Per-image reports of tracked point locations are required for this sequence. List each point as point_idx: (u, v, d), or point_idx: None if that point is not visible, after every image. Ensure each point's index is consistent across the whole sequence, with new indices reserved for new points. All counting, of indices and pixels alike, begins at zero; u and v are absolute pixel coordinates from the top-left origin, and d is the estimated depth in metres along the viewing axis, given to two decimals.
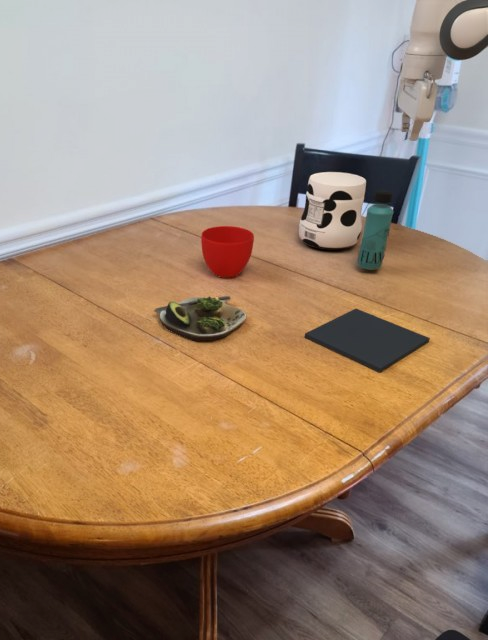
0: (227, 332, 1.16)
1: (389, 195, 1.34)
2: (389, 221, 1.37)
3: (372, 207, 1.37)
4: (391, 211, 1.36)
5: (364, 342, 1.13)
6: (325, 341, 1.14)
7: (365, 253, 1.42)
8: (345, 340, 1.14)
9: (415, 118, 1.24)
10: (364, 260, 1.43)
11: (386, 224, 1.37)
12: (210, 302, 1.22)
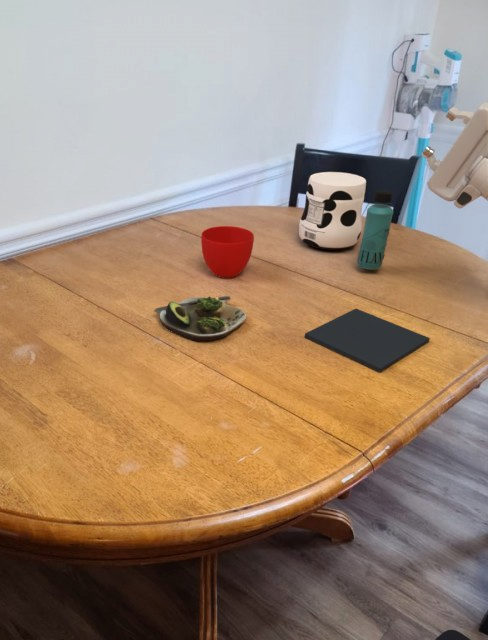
0: (227, 332, 1.16)
1: (389, 195, 1.34)
2: (389, 221, 1.37)
3: (372, 207, 1.37)
4: (391, 211, 1.36)
5: (364, 342, 1.13)
6: (325, 341, 1.14)
7: (365, 253, 1.42)
8: (345, 340, 1.14)
9: None
10: (364, 260, 1.43)
11: (386, 224, 1.37)
12: (210, 302, 1.22)
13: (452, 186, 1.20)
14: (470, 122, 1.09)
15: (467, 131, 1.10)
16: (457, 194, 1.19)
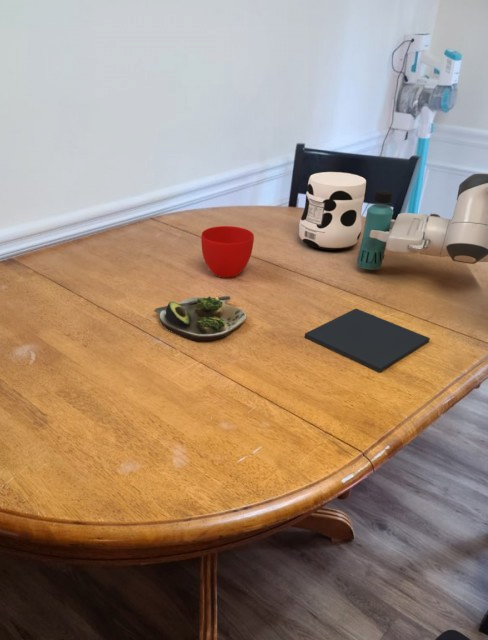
0: (227, 332, 1.16)
1: (389, 195, 1.34)
2: (389, 221, 1.37)
3: (372, 207, 1.37)
4: (391, 211, 1.36)
5: (364, 342, 1.13)
6: (325, 341, 1.14)
7: (365, 253, 1.42)
8: (345, 340, 1.14)
9: (391, 236, 1.31)
10: (363, 260, 1.43)
11: (386, 224, 1.37)
12: (210, 302, 1.22)
13: None
14: None
15: None
16: None
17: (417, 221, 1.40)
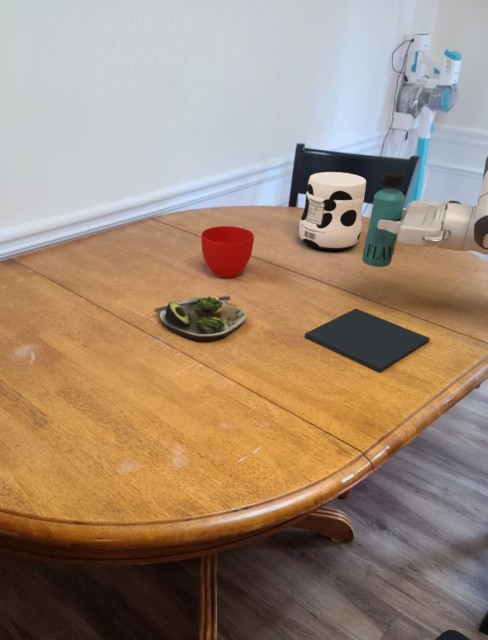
0: (227, 332, 1.16)
1: (400, 178, 1.13)
2: (400, 209, 1.16)
3: (380, 192, 1.15)
4: (403, 197, 1.15)
5: (364, 342, 1.13)
6: (325, 341, 1.14)
7: (372, 247, 1.20)
8: (345, 340, 1.14)
9: (403, 226, 1.09)
10: (370, 256, 1.21)
11: (397, 213, 1.15)
12: (210, 302, 1.22)
13: None
14: None
15: None
16: None
17: (433, 209, 1.19)
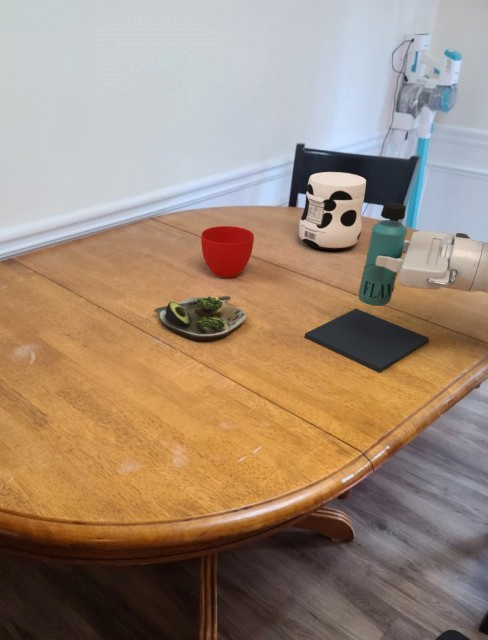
0: (227, 332, 1.16)
1: (402, 210, 1.00)
2: (401, 244, 1.03)
3: (379, 225, 1.03)
4: (404, 231, 1.02)
5: (364, 342, 1.13)
6: (325, 341, 1.14)
7: (369, 285, 1.08)
8: (345, 340, 1.14)
9: (405, 266, 0.97)
10: (367, 294, 1.09)
11: (397, 248, 1.03)
12: (210, 302, 1.22)
13: None
14: None
15: None
16: None
17: (438, 243, 1.06)
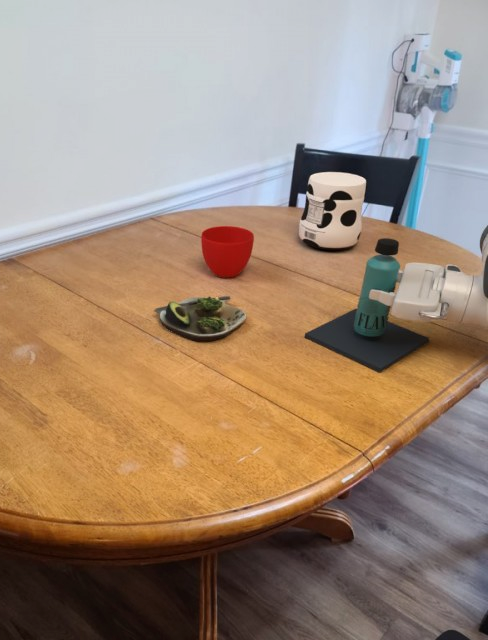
0: (227, 332, 1.16)
1: (395, 246, 1.03)
2: (395, 278, 1.06)
3: (373, 260, 1.06)
4: (397, 266, 1.05)
5: (364, 342, 1.13)
6: (325, 341, 1.14)
7: (364, 316, 1.11)
8: (345, 340, 1.14)
9: (398, 299, 1.00)
10: (362, 325, 1.12)
11: (391, 282, 1.06)
12: (210, 302, 1.22)
13: None
14: None
15: None
16: None
17: (430, 275, 1.10)
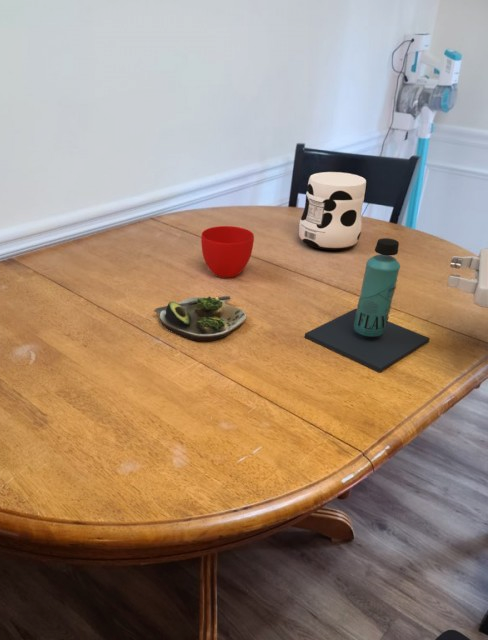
0: (227, 332, 1.16)
1: (395, 246, 1.03)
2: (395, 278, 1.06)
3: (373, 260, 1.06)
4: (397, 265, 1.05)
5: (364, 342, 1.13)
6: (325, 341, 1.14)
7: (364, 316, 1.11)
8: (345, 340, 1.14)
9: (483, 286, 0.93)
10: (362, 325, 1.12)
11: (391, 282, 1.06)
12: (210, 302, 1.22)
13: None
14: None
15: None
16: None
17: None
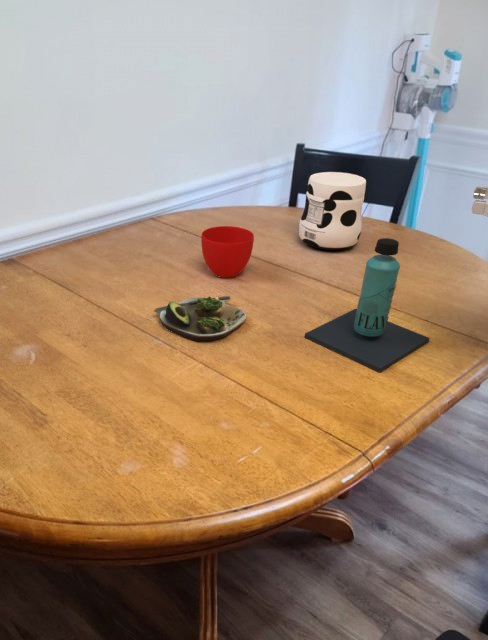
0: (227, 332, 1.16)
1: (395, 246, 1.03)
2: (395, 278, 1.06)
3: (373, 260, 1.06)
4: (397, 265, 1.05)
5: (364, 342, 1.13)
6: (325, 341, 1.14)
7: (364, 316, 1.11)
8: (345, 340, 1.14)
9: None
10: (362, 325, 1.12)
11: (391, 282, 1.06)
12: (210, 302, 1.22)
13: None
14: None
15: None
16: None
17: None
